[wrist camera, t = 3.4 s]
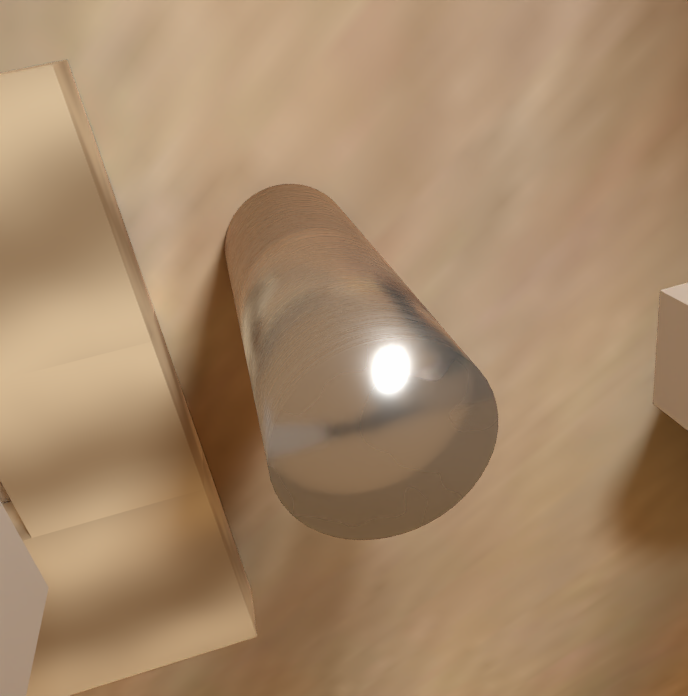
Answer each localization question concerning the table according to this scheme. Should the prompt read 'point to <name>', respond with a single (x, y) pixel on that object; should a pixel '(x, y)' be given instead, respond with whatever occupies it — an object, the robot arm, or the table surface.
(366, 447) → the shiny metal cylinder
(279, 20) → the table surface
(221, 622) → the jig
